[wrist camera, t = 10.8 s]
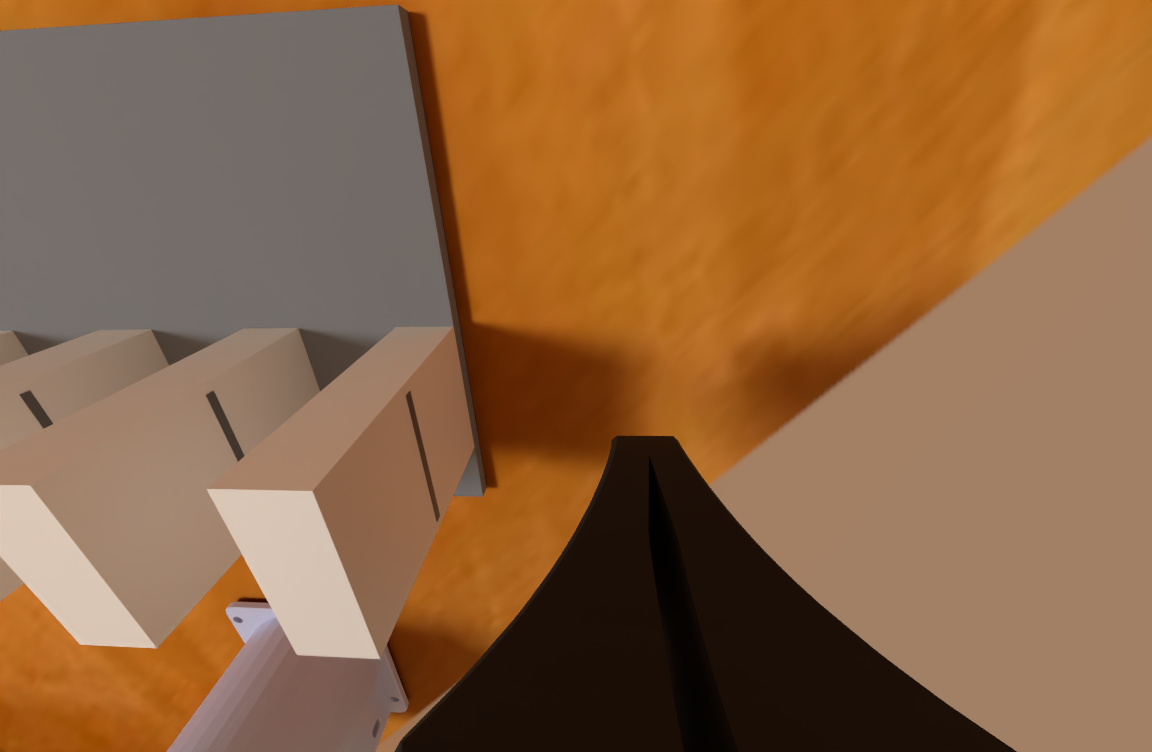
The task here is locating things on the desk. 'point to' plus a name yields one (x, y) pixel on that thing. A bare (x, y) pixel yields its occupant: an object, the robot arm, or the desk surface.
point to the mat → (223, 186)
